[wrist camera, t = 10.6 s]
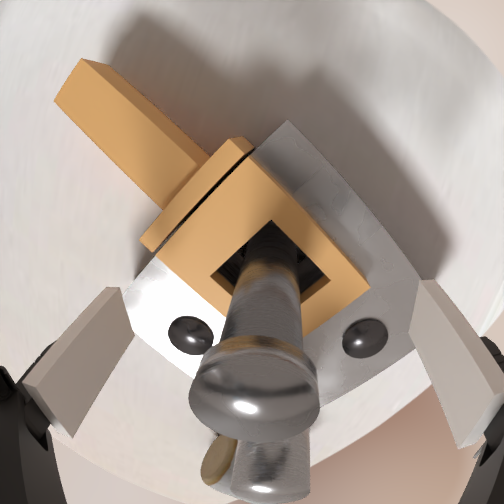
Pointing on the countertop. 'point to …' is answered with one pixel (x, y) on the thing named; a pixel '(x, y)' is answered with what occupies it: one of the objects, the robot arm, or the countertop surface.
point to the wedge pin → (260, 352)
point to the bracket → (202, 194)
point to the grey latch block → (326, 335)
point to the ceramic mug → (221, 466)
